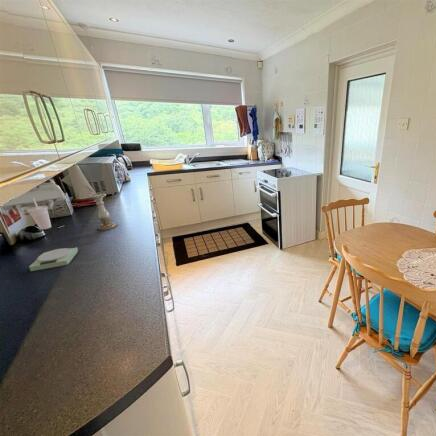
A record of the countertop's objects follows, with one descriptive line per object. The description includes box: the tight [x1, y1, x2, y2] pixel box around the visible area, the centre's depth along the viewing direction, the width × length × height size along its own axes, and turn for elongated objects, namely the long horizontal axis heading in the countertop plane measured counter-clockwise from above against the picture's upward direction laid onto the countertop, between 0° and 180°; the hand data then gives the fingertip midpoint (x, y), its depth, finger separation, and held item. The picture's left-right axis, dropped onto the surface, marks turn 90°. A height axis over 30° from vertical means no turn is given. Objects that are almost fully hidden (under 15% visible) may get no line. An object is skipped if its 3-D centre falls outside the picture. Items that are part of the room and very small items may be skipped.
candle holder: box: [88, 192, 117, 231], centre depth 134 cm, size 9×9×20 cm
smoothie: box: [26, 198, 52, 231], centre depth 102 cm, size 6×6×14 cm
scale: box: [28, 246, 79, 272], centre depth 103 cm, size 12×13×3 cm
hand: (39, 212), depth 101 cm, fingers closed on smoothie, 6 cm apart
